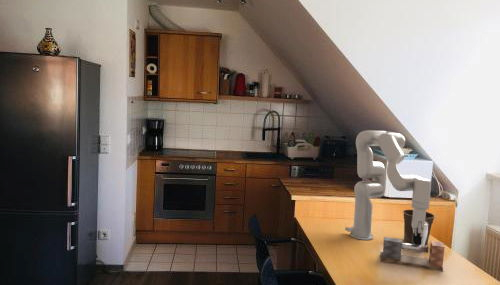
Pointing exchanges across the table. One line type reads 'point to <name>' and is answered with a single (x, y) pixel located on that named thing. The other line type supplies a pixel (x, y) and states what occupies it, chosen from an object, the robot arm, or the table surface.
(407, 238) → the plant pot
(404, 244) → the tube
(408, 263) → the tube rig
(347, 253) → the table surface
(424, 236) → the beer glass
